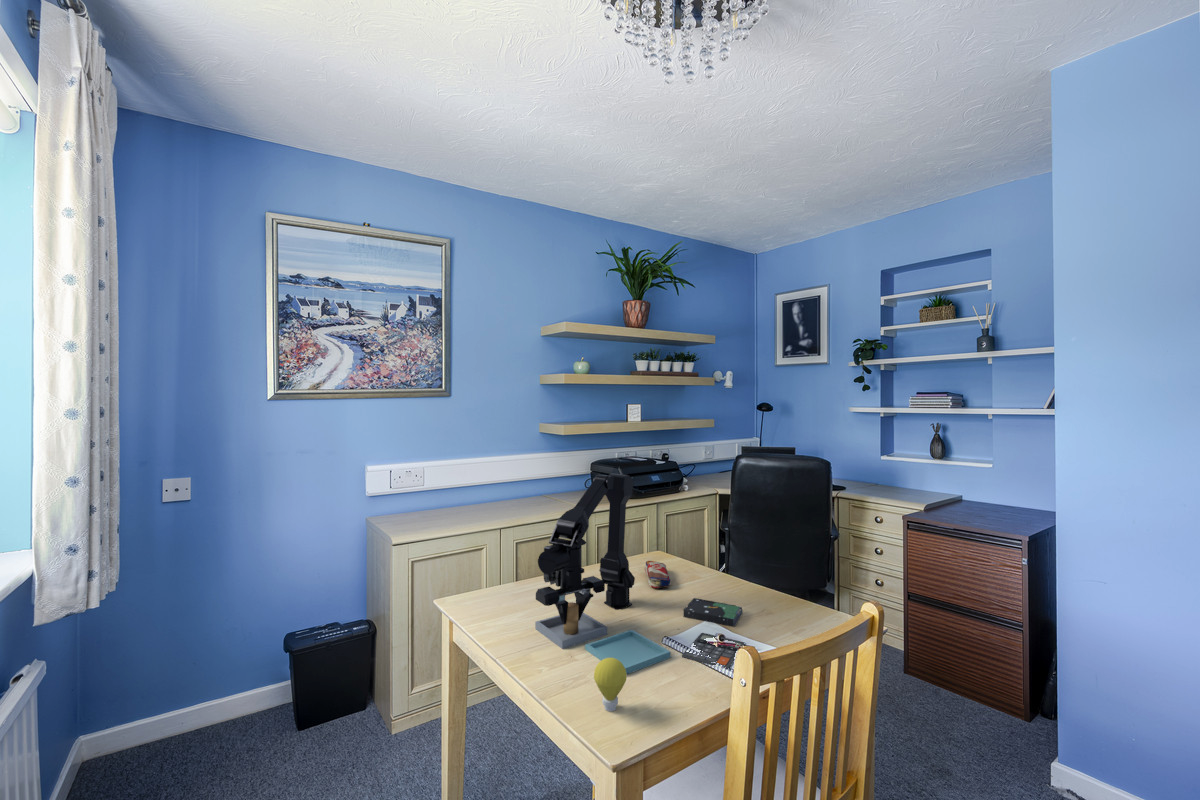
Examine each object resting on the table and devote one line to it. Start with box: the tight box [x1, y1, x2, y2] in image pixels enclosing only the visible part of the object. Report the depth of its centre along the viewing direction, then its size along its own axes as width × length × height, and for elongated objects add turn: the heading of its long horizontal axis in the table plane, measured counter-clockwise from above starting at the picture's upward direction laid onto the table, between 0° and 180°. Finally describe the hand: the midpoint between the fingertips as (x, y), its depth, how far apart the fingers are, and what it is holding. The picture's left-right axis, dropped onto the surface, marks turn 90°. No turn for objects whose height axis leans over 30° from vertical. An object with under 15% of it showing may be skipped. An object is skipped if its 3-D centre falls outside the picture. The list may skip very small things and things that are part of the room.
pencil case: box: [644, 560, 671, 589], centre depth 186 cm, size 11×20×5 cm, turn 165°
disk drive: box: [682, 597, 743, 628], centre depth 157 cm, size 10×3×15 cm
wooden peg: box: [564, 601, 578, 635], centre depth 146 cm, size 4×4×7 cm
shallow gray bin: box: [535, 612, 608, 650], centre depth 146 cm, size 14×14×2 cm
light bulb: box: [593, 658, 628, 712], centre depth 111 cm, size 7×7×10 cm
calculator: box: [681, 632, 746, 670], centre depth 136 cm, size 12×1×15 cm
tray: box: [584, 629, 672, 675], centre depth 134 cm, size 15×15×2 cm
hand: (571, 621), depth 146 cm, fingers closed on wooden peg, 4 cm apart
